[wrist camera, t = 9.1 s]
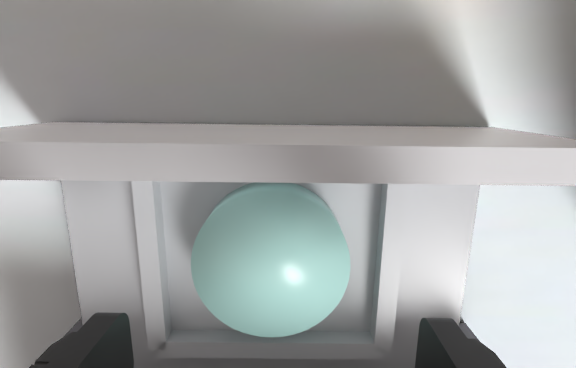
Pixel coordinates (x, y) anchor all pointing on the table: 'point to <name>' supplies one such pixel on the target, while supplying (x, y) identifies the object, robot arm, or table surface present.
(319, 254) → the pale green round part
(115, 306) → the tray
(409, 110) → the table surface
